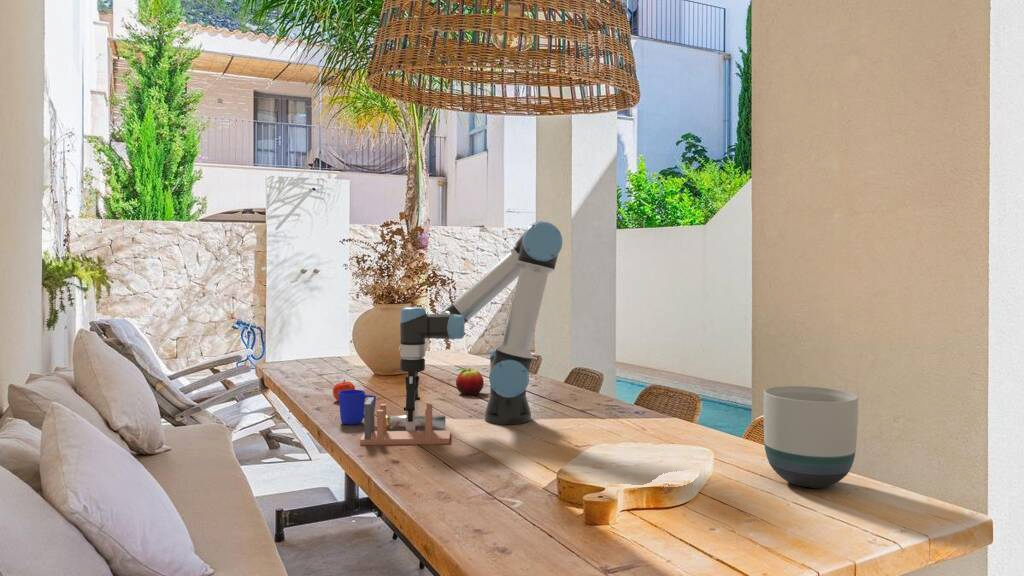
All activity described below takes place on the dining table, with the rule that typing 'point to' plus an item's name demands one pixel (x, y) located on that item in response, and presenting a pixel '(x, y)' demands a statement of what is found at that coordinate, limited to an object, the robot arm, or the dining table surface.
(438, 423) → the tube
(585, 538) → the dining table surface
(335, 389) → the apple
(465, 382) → the fruit
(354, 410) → the mug
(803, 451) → the planter
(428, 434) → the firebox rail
